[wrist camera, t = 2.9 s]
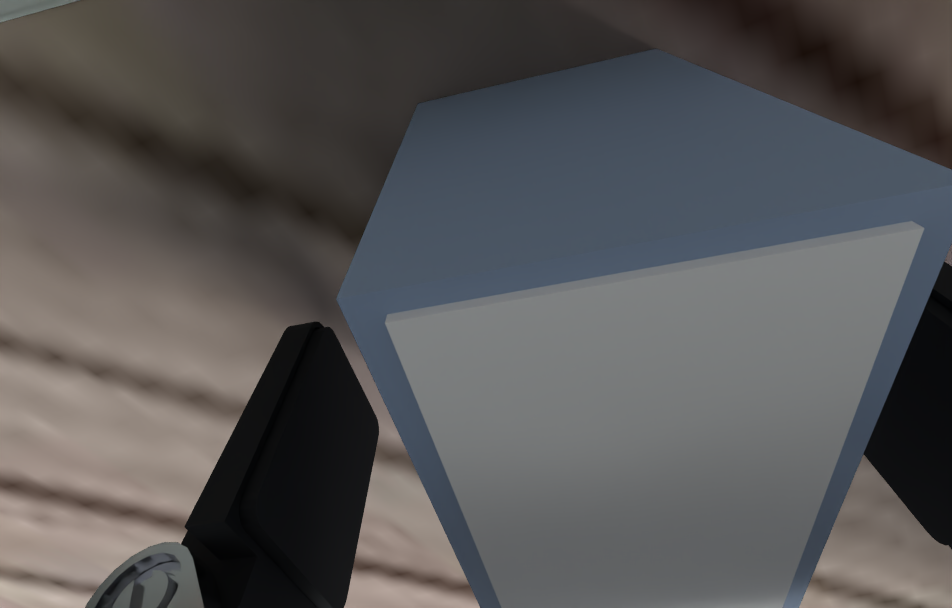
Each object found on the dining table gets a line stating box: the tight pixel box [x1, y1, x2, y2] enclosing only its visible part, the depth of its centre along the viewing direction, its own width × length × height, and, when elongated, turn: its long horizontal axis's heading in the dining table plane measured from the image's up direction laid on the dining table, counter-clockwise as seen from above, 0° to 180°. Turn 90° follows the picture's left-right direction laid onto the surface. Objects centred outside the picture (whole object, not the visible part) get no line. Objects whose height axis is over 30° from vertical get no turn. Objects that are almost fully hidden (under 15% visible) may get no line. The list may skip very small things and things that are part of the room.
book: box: [336, 49, 952, 608], centre depth 8 cm, size 4×9×6 cm, turn 12°
